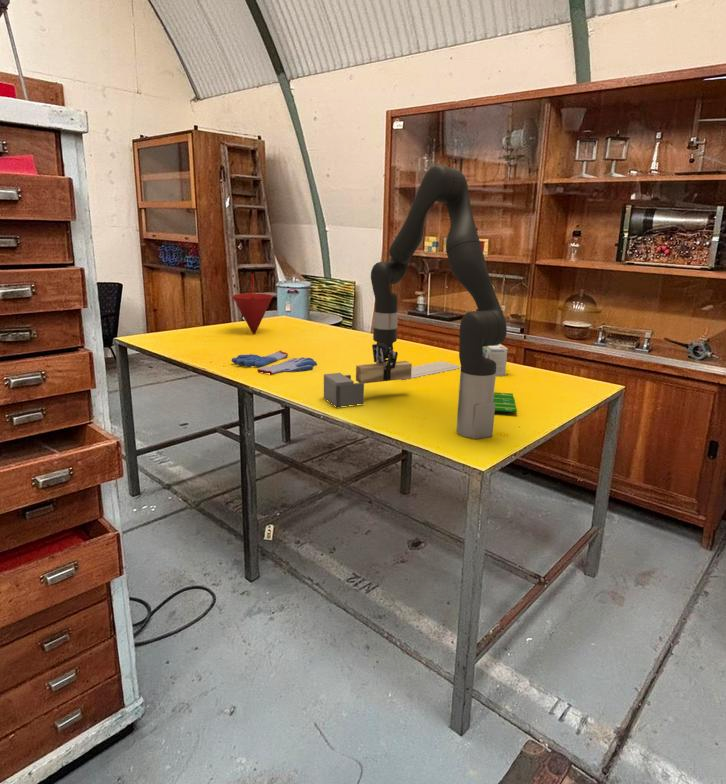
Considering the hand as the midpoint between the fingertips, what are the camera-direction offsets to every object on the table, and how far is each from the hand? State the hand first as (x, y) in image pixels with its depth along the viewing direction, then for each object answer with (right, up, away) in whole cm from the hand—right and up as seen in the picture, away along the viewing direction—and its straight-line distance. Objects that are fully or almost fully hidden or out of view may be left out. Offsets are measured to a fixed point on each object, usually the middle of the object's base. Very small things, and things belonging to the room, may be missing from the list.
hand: (383, 378), depth 186 cm
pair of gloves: (-41, +6, +40) cm, 58 cm away
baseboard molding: (+17, +3, +34) cm, 39 cm away
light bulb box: (+43, +3, +35) cm, 56 cm away
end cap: (-13, -7, -4) cm, 15 cm away
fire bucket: (-61, +24, +99) cm, 119 cm away
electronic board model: (+34, -7, 0) cm, 35 cm away
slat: (0, 0, 0) cm, 0 cm away
